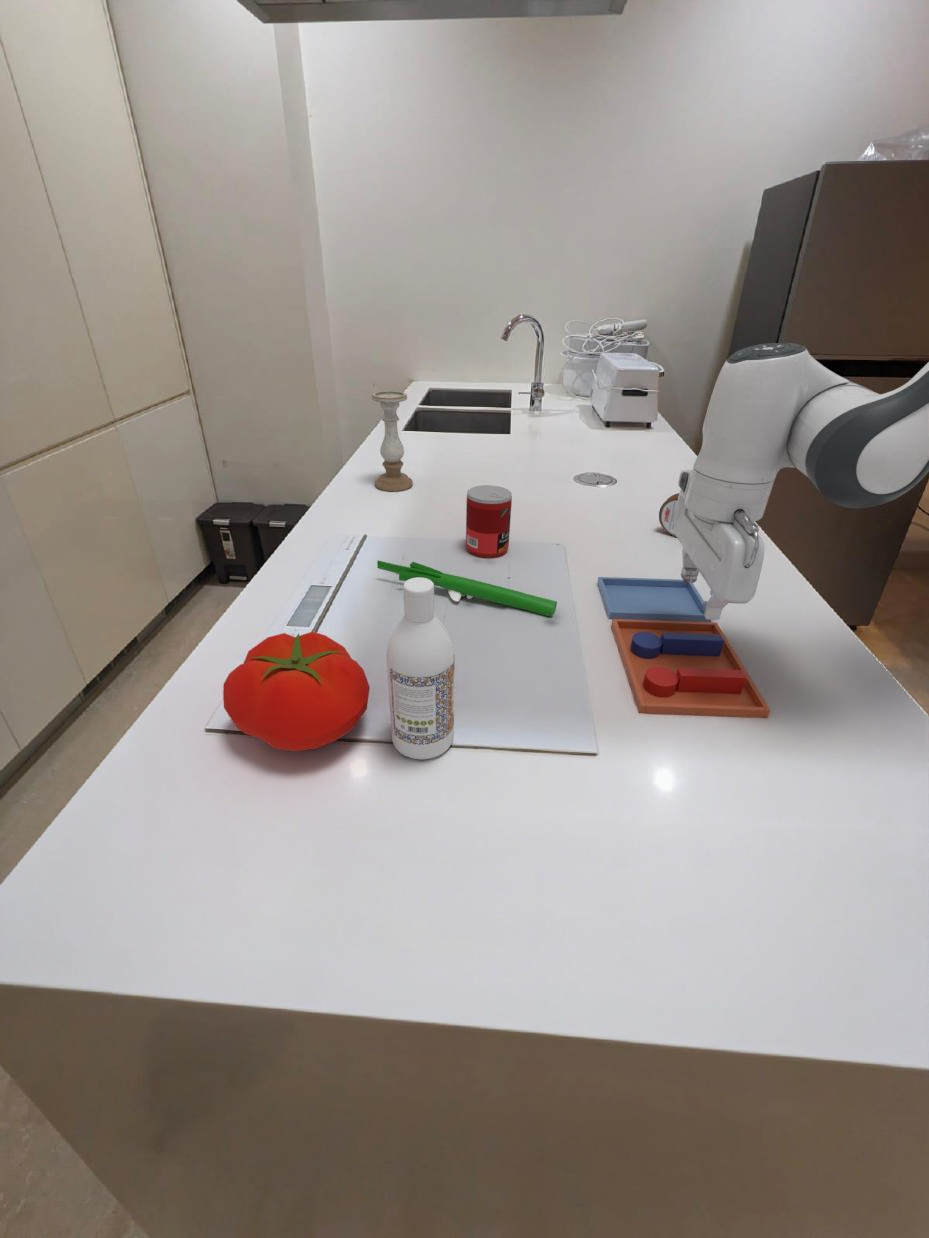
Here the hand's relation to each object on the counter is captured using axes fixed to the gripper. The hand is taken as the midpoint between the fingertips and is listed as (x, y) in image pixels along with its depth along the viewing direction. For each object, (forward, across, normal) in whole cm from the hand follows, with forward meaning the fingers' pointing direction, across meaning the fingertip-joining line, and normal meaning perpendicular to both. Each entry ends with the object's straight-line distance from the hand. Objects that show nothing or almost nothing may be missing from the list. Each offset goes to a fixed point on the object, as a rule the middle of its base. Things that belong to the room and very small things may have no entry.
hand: (698, 597), depth 75 cm
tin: (+9, +38, -13) cm, 42 cm away
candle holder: (+10, +64, +49) cm, 82 cm away
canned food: (+10, +32, +27) cm, 43 cm away
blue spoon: (+9, 0, +2) cm, 9 cm away
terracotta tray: (+9, -4, +1) cm, 10 cm away
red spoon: (+9, -8, +2) cm, 12 cm away
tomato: (+10, -17, +48) cm, 52 cm away
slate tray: (+9, +14, +1) cm, 16 cm away
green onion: (+10, +14, +31) cm, 35 cm away
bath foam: (+10, -18, +34) cm, 40 cm away
